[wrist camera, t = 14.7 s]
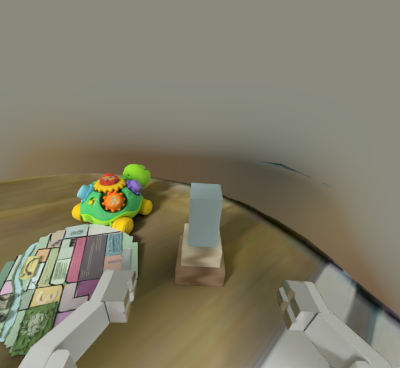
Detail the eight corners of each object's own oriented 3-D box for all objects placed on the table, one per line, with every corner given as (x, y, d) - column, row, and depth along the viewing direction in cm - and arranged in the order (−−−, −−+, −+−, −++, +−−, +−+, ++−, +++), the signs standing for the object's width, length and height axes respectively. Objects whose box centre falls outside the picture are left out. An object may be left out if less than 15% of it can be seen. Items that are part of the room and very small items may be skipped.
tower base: (175, 284, 35) (175, 254, 31) (180, 247, 43) (180, 219, 39) (222, 286, 35) (228, 257, 31) (219, 249, 43) (223, 222, 39)
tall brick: (187, 246, 33) (190, 198, 28) (189, 227, 37) (191, 182, 33) (215, 247, 33) (222, 200, 28) (214, 228, 38) (220, 184, 33)
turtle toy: (168, 197, 61) (167, 164, 56) (119, 248, 42) (110, 205, 36) (124, 186, 66) (120, 154, 60) (62, 228, 46) (46, 186, 41)
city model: (-35, 427, 21) (-68, 419, 18) (-16, 265, 35) (-32, 244, 32) (163, 297, 36) (165, 279, 32) (120, 220, 50) (118, 202, 47)
